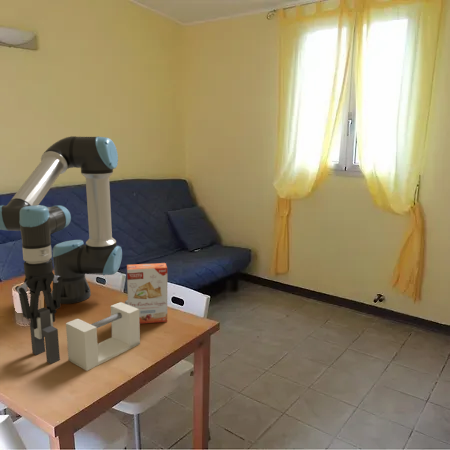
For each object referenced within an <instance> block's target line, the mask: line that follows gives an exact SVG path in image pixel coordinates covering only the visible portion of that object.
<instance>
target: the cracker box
mask: <svg viewBox="0 0 450 450" xmlns="http://www.w3.org/2000/svg"><path fill="white" fill-rule="evenodd" d="M126 277H127V279H126V281H127V282H126V283H127V284H126V285H127V286H126V287H127V290H126V291H127V300H128V305H130V306H132V307H135V308H137V309H139V324H140V325H143V324H154V323H167V322H168V266H167V262H166V263H165V262H161V263H139V264H137V263H136V264H126Z"/></svg>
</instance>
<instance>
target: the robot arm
mask: <svg viewBox="0 0 450 450" xmlns="http://www.w3.org/2000/svg"><path fill="white" fill-rule="evenodd" d="M118 162H119V154H118V149H117V146H116V144H115V143H114V141H113V140H112V139H111V138H109V137H104V136H72V135H71V136H66V137H64V138H62V139H60V140H57V141H56V142H55V143H53V144H52V145H50V146H49V147H48V148H47V149H46V150H45V151H44V152H43V153H42V155H41V157H40V162H39V164H38V165H37V166H36V167H35V169H34V170H33V171H32V172H31V174H30V175H29V176H28V178H27V179H26V180H25V181H24V182H23V184H22V186H21V187H20V188H19V189H18V190H17V191H16V193H15V194H14V195H13V196H12V198H11V199H10V201H8V203H7V205H4V204H1V205H0V231H15V232H19V231H20V235H21V243H22V244H21V245H22V247H21V249H22V257H23V258H22V260H23V261H24V262H23V270H24V275H25V278H24V282H23V284H21V285H17V286H15V291H16V292H17V293H18V297H19V303H20V306H21V312H22V317H23V318H26V319H27V320H30V323H31V327H32V328H33V329H34V335H35V337H36V338H38V339H42V333H41V321H40V318H39V317H38V309H39V301H40V300H39V298H40V295H41V292H42V294H43V298H44V301H45V306H46V307H45V308H47V309H49V310H50V319H51V326H53V327H54V322H55V321H56V317H55V316H56V315H55V314H56V313H57V310H59V309H60V308H61V305H62V304H66V305H67V304H69V305H70V304H77V303H79V302H83V301H86V300H87V299H89V298H90V297H91V288H90V287H91V286H89V283H88V281H87V279H86V275H99V276H114V275H115V274H117V272H118V271H119V268H120V267H121V262H122V259H123V250H122V246H120V245H117V240H116V239H115V238H114V237H113V233H112V231H113V230H112V228H113V227H112V212H111V211H112V209H111V207H112V206H111V191H110V189H111V187H110V177H111V176H112V174H114V169H116V168H117V167H118V164H119V163H118ZM72 168H77V169H78V168H79V169H80V174H81V175H82V176H84V178H85V187H86V189H85V190H86V202H87V203H86V204H87V219H88V221H87V222H88V223H87V224H88V235H89V236H88V239H87V240H86V241H85V244H84V240H82V239H73V240H66V241H63V242H59V243H56V244H55V245H54V246H53V248H52V240H51V239H52V237H51V235H52V234H54V233H57V232H60V231H62V230H64V229H65V228H66V227H68V226H69V225H70V223H71V220H72V216H71V212H70V210H69V209H67V207H65V206H64V205H58V204H57V205H52V206H50V207H49V206H45V205H41V204H40V203H41V202H42V201H43V199H44V198H45V196H46V195H47V194H48V192H49V191H50V189H51V188H52V186H53V185H54V184H55V182H56V181H57V179H58V178H59V176H60V175H61V174H65V173H66V171H67V170H68V169H72ZM53 271H54V273H53ZM51 285H52V288H51ZM27 288H28V289H29V294H30V297H28V293H27V292H28V289H27Z"/></svg>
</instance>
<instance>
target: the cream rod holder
mask: <svg viewBox="0 0 450 450" xmlns="http://www.w3.org/2000/svg"><path fill="white" fill-rule="evenodd" d="M108 324H111V337H109V338H107V339H105V340H102V341H101V342H99V343H98V329H99V328H101V327H103V326H105V325H108ZM140 326H141V324H139V309H137V308H135V307H132V306H130V305H127V304H125V302H122V301H120V302H118V303H115V304H112V305H110V316H108V317H105V318H103V319H100V320H98V321H96V322H93V323H89V322H86V321H85V320H82V319H80V318H75V319H73V320H70V321H68V322H66V323H65V329H66V330H65V331H66V343H67V360H68V361H69V362H71V363H72V364H74V365H76V366H77V367H79V368H81V369H82V370H84V371H87V372H88V371H89V370H92V369H93V368H96V367H98V366H99V365H101V364H104V363H105V362H107V361H109V360H111V359H113V358H115V357H117V356H119V355H121V354H123V353H125V352H127V351H128V350H130V349H132V348H135V347H136V346H139V345H140V344H141V337H140V336H141V334H140V333H141V332H140V331H141V330H140V328H141V327H140Z"/></svg>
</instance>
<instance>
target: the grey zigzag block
mask: <svg viewBox="0 0 450 450" xmlns="http://www.w3.org/2000/svg"><path fill="white" fill-rule="evenodd" d="M38 317H39V318H40V321H41V333H42V339H38V338H36V337H35V335H34V329H33V328H32V327H31V322H29V329H30V340H31V351H32V354H34V355H35V356H37V355H39V354H42V353H44V352H45V354H46V363H48V364H49V365H52V364H54V363H57V362H59V361H60V360H61V357H60V344H59V332H58V330H59V329H58V328H57V327H55V326H54V325H53V326H51V319H50V310H49V309H47V307H41V308H38Z"/></svg>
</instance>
